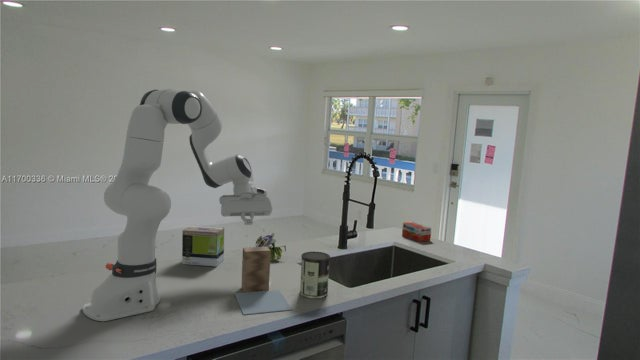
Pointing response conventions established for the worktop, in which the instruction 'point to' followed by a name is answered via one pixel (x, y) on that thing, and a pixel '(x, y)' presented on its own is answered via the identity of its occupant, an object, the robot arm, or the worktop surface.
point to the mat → (262, 302)
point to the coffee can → (314, 274)
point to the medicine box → (416, 231)
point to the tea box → (203, 245)
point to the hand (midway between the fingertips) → (248, 224)
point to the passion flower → (270, 245)
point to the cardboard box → (255, 269)
